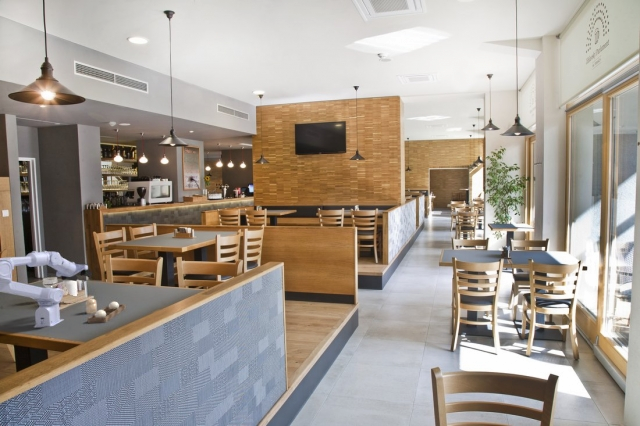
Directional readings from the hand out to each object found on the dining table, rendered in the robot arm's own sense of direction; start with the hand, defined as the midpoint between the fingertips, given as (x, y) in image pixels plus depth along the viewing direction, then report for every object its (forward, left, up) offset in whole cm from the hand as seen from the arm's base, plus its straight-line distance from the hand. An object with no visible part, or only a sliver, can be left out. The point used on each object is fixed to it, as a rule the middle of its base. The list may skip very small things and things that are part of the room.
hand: (83, 277), depth 210 cm
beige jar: (-6, -6, -16) cm, 18 cm away
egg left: (-19, -16, -15) cm, 29 cm away
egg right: (-5, -16, -15) cm, 23 cm away
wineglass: (+20, +27, -16) cm, 38 cm away
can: (+16, +15, -16) cm, 28 cm away
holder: (-12, -16, -16) cm, 25 cm away
